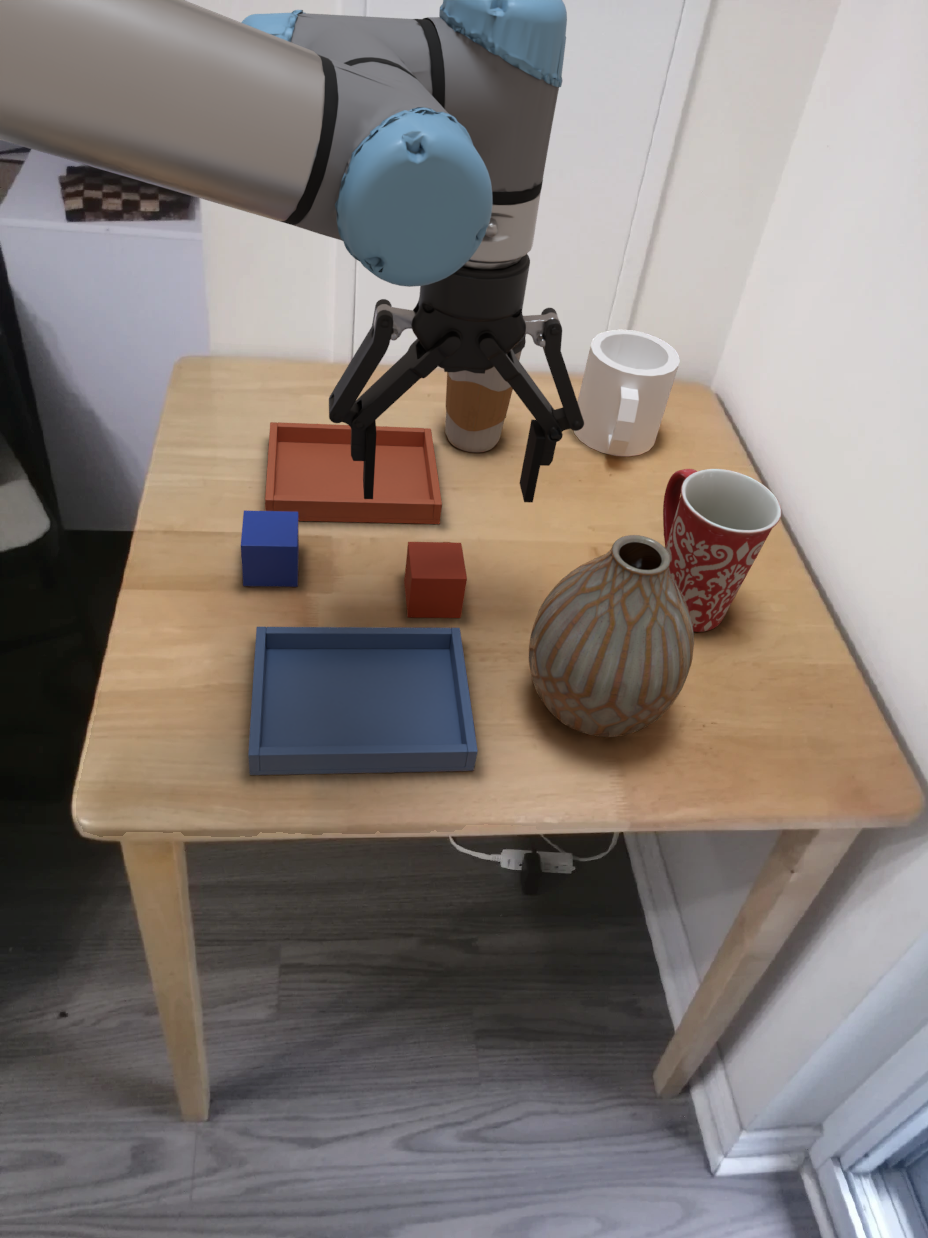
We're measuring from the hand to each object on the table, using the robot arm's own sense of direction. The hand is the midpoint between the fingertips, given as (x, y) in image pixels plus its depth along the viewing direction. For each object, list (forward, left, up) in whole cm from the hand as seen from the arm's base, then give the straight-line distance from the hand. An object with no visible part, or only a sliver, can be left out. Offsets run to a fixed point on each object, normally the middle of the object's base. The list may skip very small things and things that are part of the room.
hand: (447, 491), depth 80 cm
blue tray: (+6, -14, -13) cm, 20 cm away
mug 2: (+15, +20, -13) cm, 28 cm away
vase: (+18, +2, -13) cm, 22 cm away
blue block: (-12, -10, -13) cm, 20 cm away
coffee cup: (-17, +22, -13) cm, 31 cm away
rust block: (0, 0, -13) cm, 13 cm away
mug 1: (-8, +36, -13) cm, 39 cm away
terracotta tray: (-19, +5, -13) cm, 23 cm away
